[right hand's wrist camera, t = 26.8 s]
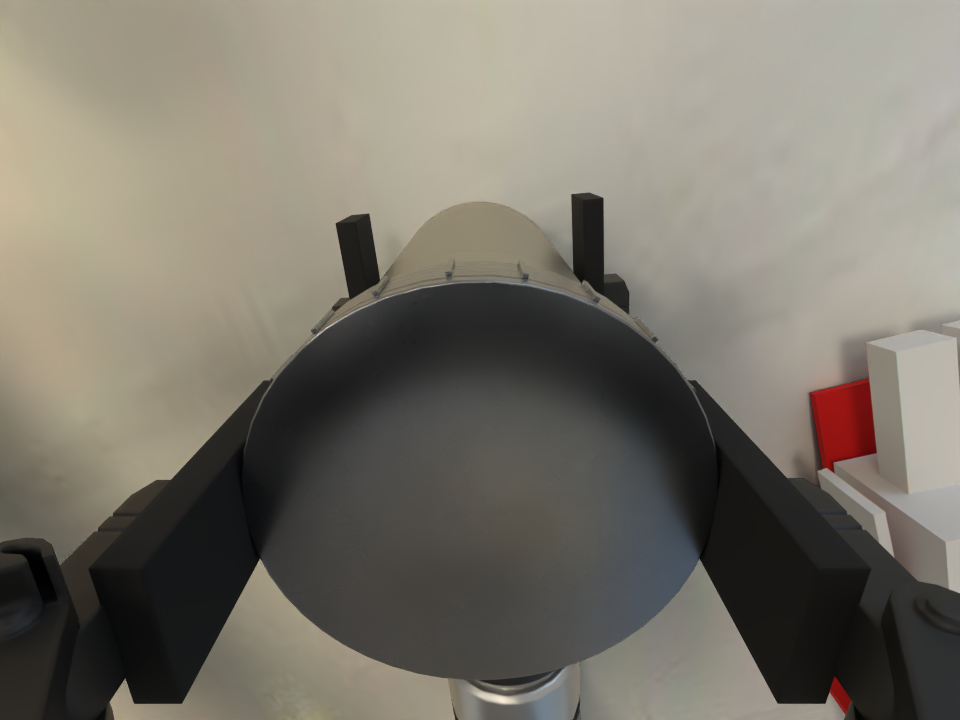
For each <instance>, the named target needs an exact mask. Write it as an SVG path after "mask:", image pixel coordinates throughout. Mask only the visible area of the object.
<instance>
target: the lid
mask: <svg viewBox="0 0 960 720" xmlns="http://www.w3.org/2000/svg"><path fill="white" fill-rule="evenodd" d="M311 332H312V333H313V334H312V335H311V336H310V338H309V339H308V340H307V341H306V342H305V343H304V344H303V345H302V346H301V347H300V349H299V350H298V351H297V352H296V353H295V354H294V355H292V356H291V357H290V358H289V359H288V360H287V361H286V362H285V363H284V364H283V366H282V367H281V368H280V369H279V370H278V371H277V372H276V373H275V374H274V375H273V376H272V378H271V379H270V381H269V382H270V383H271V384H270V386H269V387H268V389H267V390H266V392H265V394H264V395H263V397H262V399H261V401H260V404H259V406H258V408H257V410H256V412H255V415H254V417H253V419H252V421H251V424H250V428H249V432H248V435H247V439H246V443H245V447H244V452H243V462H242V472H241V484H242V499H243V505H244V510H245V515H246V520H247V525H248V529H249V532H250V535H251V538H252V540H253V543H254V546H255V548H256V551H257V553H258V555H259V557H260V559H261V561H262V562H263V564H264V566H265V568H266V570H267V572H268V573H269V575H270V576H271V578H272V579H273V581H274V582H275V583H276V585H277V586H278V587H279V589H280V590H281V591H282V593H283V594H284V595H285V596H286V598H287V599H288V600H289V601H290V602H291V603H292V604H293V605H294V606H295V607H296V608H297V609H298V610H299V611H300V612H301V613H302V614H303V615H304V616H305V617H306V618H308V619H309V620H310V621H311V622H312V623H314V624H315V625H316V626H317V627H318V628H320V629H321V630H322V631H324V632H325V633H327V634H328V635H330V636H331V637H333V638H334V639H336V640H337V641H339V642H340V643H342V644H344V645H345V646H347V647H349V648H351V649H353V650H355V651H357V652H359V653H361V654H363V655H365V656H367V657H369V658H372V659H375V660H377V661H380V662H382V663H385V664H387V665H390V666H393V667H397V668H400V669H404V670H407V671H411V672H415V673H419V674H424V675H430V676H436V677H441V678H451V679H463V680H499V679H508V678H518V677H525V676H530V675H535V674H540V673H545V672H549V671H553V670H556V669H559V668H563V667H566V666H569V665H572V664H575V663H578V662H580V661H582V660H585V659H587V658H590V657H592V656H594V655H597V654H599V653H601V652H603V651H605V650H606V649H608V648H610V647H612V646H614V645H616V644H617V643H619V642H621V641H623V640H624V639H625V638H627V637H628V636H630V635H631V634H633V633H634V632H636V631H637V630H638V629H640V628H641V627H643V626H644V625H645V624H646V623H647V622H648V621H650V620H651V619H652V618H653V617H654V616H655V615H656V614H658V613H659V612H660V611H661V610H662V609H663V608H664V607H665V606H666V605H667V603H668V602H669V601H670V600H671V599H672V598H673V597H674V596H675V595H676V593H677V592H678V591H679V590H680V588H681V587H682V586H683V584H684V583H685V581H686V580H687V578H688V577H689V575H690V574H691V573H692V571H693V570H694V568H695V566H696V564H697V562H698V560H699V558H700V556H701V554H702V552H703V550H704V548H705V546H706V543H707V540H708V537H709V534H710V531H711V527H712V523H713V517H714V512H715V507H716V502H717V496H718V463H717V456H716V449H715V442H714V439H713V436H712V433H711V429H710V426H709V423H708V420H707V416H706V414H705V412H704V410H703V408H702V406H701V404H700V402H699V400H698V398H697V396H696V394H695V393H696V390H695V388H694V387H693V386H692V385H691V384H690V383H689V382H688V381H687V379H686V378H685V377H684V376H683V374H682V373H681V372H680V370H679V369H678V367H677V366H676V365H675V364H674V363H673V361H672V360H671V359H670V358H669V357H668V356H667V355H666V354H665V353H664V352H663V351H662V349H661V348H660V347H659V346H658V345H657V344H656V343H655V342H656V341H657V340H658V338H657V337H656V336H655V335H654V334H653V333H652V332H651V331H650V330H649V329H648V328H647V327H646V326H645V325H644V324H643V323H642V321H641V320H640V319H639V318H638V317H636V318H635V319H634V320H633V319H632V318H631V317H630V315H628V314H627V313H626V312H624V311H623V310H622V309H620V308H619V307H618V306H617V305H615V304H614V303H613V302H611V301H610V300H609V299H608V298H606V297H604V296H603V295H601V294H599V293H597V292H596V291H595V290H594V289H593V288H592V287H591V286H590V284H589V283H588V282H586V281H584V280H583V282H582V284H581V283H579V282H577V281H574V280H572V279H569V278H567V277H564V276H562V275H559V274H557V273H554V272H551V271H547V270H543V269H539V268H535V267H531V266H527V265H525V263H524V261H523V260H518V264H515V263H506V262H498V261H459V262H455V260H454V258H450V259H449V261H448V263H446V264H439V265H432V266H428V267H424V268H420V269H417V270H413V271H410V272H406V273H403V274H400V275H397V276H395V277H393V278H391V279H389V277H388V275H386V276H384V277H383V278H382V279H381V280H380V282H379V283H378V284H377V285H375V286H372V287H371V288H369V289H367V290H366V291H364V292H363V293H361V294H359V295H358V296H356V297H354V298H353V299H351V300H349V301H348V302H347V303H345V304H344V305H343V306H342V307H340V308H339V309H338V310H337V311H336V312H334V311H333V310H332V309H331V310H330V311H329V312H328V313H327V314H326V315H325V316H324V317H323V318H322V319H321V320H320V321H319V322H318V323H317V325H316V326H315V327H314V328H313V329H312V330H311Z"/></svg>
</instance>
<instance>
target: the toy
mask: <svg viewBox="0 0 960 720" xmlns="http://www.w3.org/2000/svg"><path fill="white" fill-rule="evenodd" d="M941 326H942V334H938V333H934V332H930V331H926V330H922V329H921V330H916V331H912V332H908V333H904V334H899V335H895V336H891V337H887V338H882V339H878V340H874V341H870V342H866V351H867V361H868V371H869V378H868V379H864V380H860V381H856V382H852V383H848V384H844V385H839V386H835V387H831V388H827V389H823V390H819V391H815V392H811V393H810V397H811V402H812V408H813V414H814V420H815V426H816V431H817V437H818V443H819V449H820V454H821V460H822V466H823V469H822V470H819V471H817V473H818V478H819V482H820V486H821V489H822V490H824V491H826V492H827V493H829V494H830V495H831V496H832V497H833V498H834V499H835V500H836V501H837V502H838V503H839V504H840V505H841V506H842V507H843V508H844V509H845V510H846V511H847V515H851V516H852V517H853V518H854V519H855V520H856V521H857V522H858V523H859V524H860V525H861V526H862V529H863V530H867V531H868V532H869V533H870V534H871V535H872V536H873V537H874V538H875V539H876V540H877V541H878V542H879V543H880V544H881V545H882V546H883V547H884V548H885V549H886V550H887V551H888V552H889V553H890V554H891V555H892V556H893V557H894V558H895V559H896V560H897V561H898V562H899V563H900V564H901V565H902V566H903V567H904V568H905V569H906V570H907V571H908V572H909V573H910V574H911V575H912V576H913V577H914V578H915V579H916V580H917V581H920V582H925V583H931V584H936V585H939V586H942V587H944V588H947V589H950V590H952V591H955V592H958V593H960V320H959V321H955V322H951V323H946V324H942V325H941ZM830 693H831V695H832V696H833V697H834V699H835V700H836V702H837V703H838V704H839V706H840V707H841V709H842V710H843V712H844V713H845V714H846V713H847V710H848V708H849V705H850V702H851V699H850V698H849V696H848V695H847V693H846V692H845V690H844V689H843V687H842V686H841V684H840V683H839V681H838V680H837V678H836V677H834V680H833V683H832V686H831V689H830Z"/></svg>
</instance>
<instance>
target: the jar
mask: <svg viewBox="0 0 960 720" xmlns="http://www.w3.org/2000/svg"><path fill="white" fill-rule="evenodd" d="M450 258H454V260H455V262H459V261H498V262H506V263H515V264H518V260H523V261H524V263H525V265H527V266H531V267H535V268H539V269H543V270H547V271H551V272H554V273H557V274H559V275H562V276H564V277H567V278H569V279H572V280H574V281H577V282H579V283H581V282H580V281H579V280H578V278H577V277H576V276H575V274H574V273H573V272H572V271H571V269H570V268H569V267H568V265H567V264H566V263H565V261H564V260H563V259H562V257H561V256H560V255H559V253H558V252H557V251H556V249H555V248H554V247H553V246H552V244H551V243H550V242H549V240H548V239H547V238H546V236H545V235H544V234H543V232H542V231H541V230H540V229H539V228H538V227H537V226H536V225H535V224H534V223H533V222H532V221H531V220H530V219H528V218H527V217H526V216H524V215H523V214H521V213H519V212H518V211H516V210H514V209H511V208H509V207H506V206H503V205H499V204H496V203H488V202H471V203H464V204H460V205H457V206H453V207H450V208H448V209H446V210H444V211H442V212H440V213H438V214H437V215H435V216H434V217H432V218H431V219H430V220H429V221H427V222H426V223H425V224H424V225H423V226H422V227H421V228H420V229H419V231H418V232H417V233H416V234H415V236H414V237H413V238H412V240H411V241H410V242H409V243H408V245H407V246H406V247H405V249H404V250H403V251H402V253H401V254H400V255H399V257H398V258H397V259H396V261H395V262H394V263H393V265H392V266H391V267H390V268H389V270H388V271H387V272H386V274H385V275H384V276H386V275H388V277H389V279H391V278H393V277H395V276H397V275H400V274H403V273H406V272H410V271H413V270H417V269H420V268H424V267H428V266H432V265H439V264H446V263H448V261H449V259H450ZM384 276H383V277H384Z"/></svg>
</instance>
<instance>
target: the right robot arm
mask: <svg viewBox="0 0 960 720" xmlns="http://www.w3.org/2000/svg"><path fill="white" fill-rule="evenodd" d="M687 381H688V382H689V383H690V384H691V385H692V386H693V387H694V388H695V390H696V393H695V394H696V396H697V398H698V400H699V402H700V404H701V406H702V408H703V410H704V412H705V414H706V416H707V420H708V423H709V426H710V429H711V433H712V436H713V439H714V442H715V449H716V456H717V463H718V496H717V502H716V507H715V512H714V517H713V523H712V527H711V531H710V534H709V537H708V540H707V543H706V546H705V548H704V550H703V552H702V554H701V556H700V560H701V562H702V564H703V566H704V567H705V569H706V571H707V573H708V575H709V577H710V579H711V580H712V582H713V584H714V586H715V588H716V590H717V592H718V593H719V595H720V597H721V599H722V601H723V603H724V605H725V606H726V608H727V610H728V612H729V614H730V616H731V618H732V619H733V621H734V623H735V625H736V627H737V629H738V631H739V633H740V634H741V636H742V638H743V640H744V642H745V644H746V646H747V647H748V649H749V651H750V653H751V655H752V657H753V659H754V660H755V662H756V664H757V666H758V668H759V670H760V672H761V673H762V675H763V677H764V679H765V681H766V683H767V685H768V686H769V688H770V690H771V692H772V694H773V696H774V698H775V699H776V701H777V703H778V704H825V703H826V700H827V697H828V694H829V692H830V689H831V686H832V683H833V680H834V677H836V678H837V680H838V681H839V683H840V684H841V686H842V687H843V689H844V690H845V692H846V693H847V695H848V696H849V698H850V699H851V702H850V705H849V708H848V710H847V713H846V716H845V718H844V720H960V593H958V592H955V591H952V590H950V589H947V588H944V587H942V586H939V585H936V584H931V583H925V582H920V581H917V580H916V579H915V578H914V577H913V576H912V575H911V574H910V573H909V572H908V571H907V570H906V569H905V568H904V567H903V566H902V565H901V564H900V563H899V562H898V561H897V560H896V559H895V558H894V557H893V556H892V555H891V554H890V553H889V552H888V551H887V550H886V549H885V548H884V547H883V546H882V545H881V544H880V543H879V542H878V541H877V540H876V539H875V538H874V537H873V536H872V535H871V534H870V533H869V532H868V531H867V530H863V529H862V526H861V525H860V524H859V523H858V522H857V521H856V520H855V519H854V518H853V517H852V516H851V515H847V511H846V510H845V509H844V508H843V507H842V506H841V505H840V504H839V503H838V502H837V501H836V500H835V499H834V498H833V497H832V496H831V495H830V494H829V493H827V492H826V491H824V490H822V489H821V488H819V487H817V486H816V485H814V484H812V483H810V482H809V481H807V480H805V479H804V478H786V477H785V476H784V475H783V473H782V472H781V471H780V470H779V469H778V468H777V467H776V466H775V465H774V464H773V463H772V462H771V461H770V460H769V458H768V457H767V456H766V455H765V454H764V453H763V452H762V451H761V450H760V449H759V448H758V447H757V446H756V445H755V444H754V442H753V441H752V440H751V439H750V438H749V437H748V436H747V435H746V434H745V433H744V432H743V431H742V430H741V429H740V427H739V426H738V425H737V424H736V423H735V422H734V421H733V420H732V419H731V418H730V417H729V416H728V415H727V414H726V412H725V411H724V410H723V409H722V408H721V407H720V406H719V405H718V404H717V403H716V402H715V401H714V400H713V399H712V398H711V396H710V395H709V394H708V393H707V392H706V391H705V390H704V389H703V388H702V387H701V386H700V385H699V384H698V383H697V381H696V380H687ZM270 384H271V383H270V382H269V381H263V382H262V383H261V384H260V385H259V386H258V388H257V389H256V390H255V391H254V392H253V393H252V394H251V395H250V396H249V397H248V398H247V399H246V400H245V401H244V402H243V404H242V405H241V406H240V407H239V408H238V409H237V410H236V411H235V412H234V413H233V414H232V415H231V416H230V417H229V419H228V420H227V421H226V422H225V423H224V424H223V425H222V426H221V427H220V428H219V429H218V430H217V431H216V432H215V433H214V435H213V436H212V437H211V438H210V439H209V440H208V441H207V442H206V443H205V444H204V445H203V446H202V447H201V448H200V450H199V451H198V452H197V453H196V454H195V455H194V456H193V457H192V458H191V459H190V460H189V461H188V462H187V463H186V465H185V466H184V467H183V468H182V469H181V470H180V471H179V472H178V473H177V474H176V475H175V476H174V477H173V478H172V479H171V480H156V481H154V482H153V483H151V484H149V485H148V486H146V487H144V488H143V489H141V490H139V491H137V492H136V493H134V494H132V495H131V496H130V497H129V498H128V499H127V500H126V501H125V502H124V503H123V504H122V505H121V506H120V507H119V508H118V509H117V510H116V511H115V512H114V513H113V517H109V518H108V519H107V520H106V521H105V522H104V523H103V524H102V525H101V526H100V527H99V528H98V532H94V533H93V534H92V535H91V536H90V537H89V538H88V539H87V540H86V541H85V542H84V543H83V544H82V545H81V546H80V547H78V548H77V549H76V550H75V551H74V552H73V553H72V554H71V555H70V556H69V557H68V558H67V559H66V560H65V561H64V562H63V563H62V564H61V565H59V563H58V560H57V557H56V555H55V552H54V549H53V546H52V544H50V543H48V542H47V541H45V540H43V539H36V538H22V539H16V540H10V541H5V542H2V543H0V720H114V716H113V710H112V708H111V705H110V700H111V699H112V697H113V696H114V694H115V693H116V691H117V690H118V688H119V687H120V685H121V684H122V682H123V681H124V679H125V678H126V681H127V684H128V687H129V690H130V693H131V696H132V699H133V702H134V704H182V703H183V701H184V699H185V697H186V695H187V693H188V691H189V690H190V688H191V686H192V684H193V682H194V680H195V678H196V677H197V675H198V673H199V671H200V669H201V667H202V665H203V664H204V662H205V660H206V658H207V656H208V654H209V652H210V650H211V649H212V647H213V645H214V643H215V641H216V639H217V637H218V636H219V634H220V632H221V630H222V628H223V626H224V624H225V623H226V621H227V619H228V617H229V615H230V613H231V611H232V610H233V608H234V606H235V604H236V602H237V600H238V598H239V597H240V595H241V593H242V591H243V589H244V587H245V585H246V584H247V582H248V580H249V578H250V576H251V574H252V572H253V571H254V569H255V567H256V565H257V563H258V561H259V559H260V557H259V555H258V553H257V551H256V548H255V546H254V543H253V540H252V538H251V535H250V532H249V529H248V525H247V520H246V515H245V510H244V505H243V499H242V484H241V472H242V462H243V452H244V447H245V443H246V439H247V435H248V432H249V428H250V424H251V421H252V419H253V417H254V415H255V412H256V410H257V408H258V406H259V404H260V401H261V399H262V397H263V395H264V394H265V392H266V390H267V389H268V387H269V386H270Z"/></svg>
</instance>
